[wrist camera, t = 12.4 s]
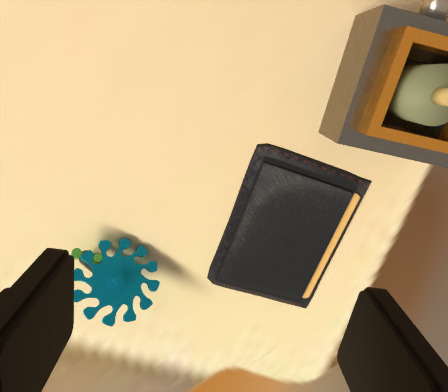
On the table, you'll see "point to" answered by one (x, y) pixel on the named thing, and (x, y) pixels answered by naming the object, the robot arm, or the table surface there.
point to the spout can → (421, 95)
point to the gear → (114, 280)
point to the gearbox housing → (387, 82)
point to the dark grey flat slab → (285, 225)
